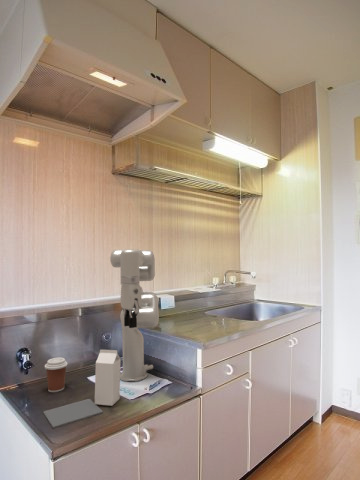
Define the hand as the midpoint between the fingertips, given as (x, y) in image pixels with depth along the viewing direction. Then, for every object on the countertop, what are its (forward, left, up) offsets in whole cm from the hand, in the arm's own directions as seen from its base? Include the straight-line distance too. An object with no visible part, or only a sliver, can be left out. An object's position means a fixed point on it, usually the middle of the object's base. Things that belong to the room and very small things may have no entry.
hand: (130, 326), depth 131 cm
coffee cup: (+22, -25, -27) cm, 43 cm away
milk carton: (+10, 0, -27) cm, 29 cm away
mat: (+23, 0, -27) cm, 36 cm away
